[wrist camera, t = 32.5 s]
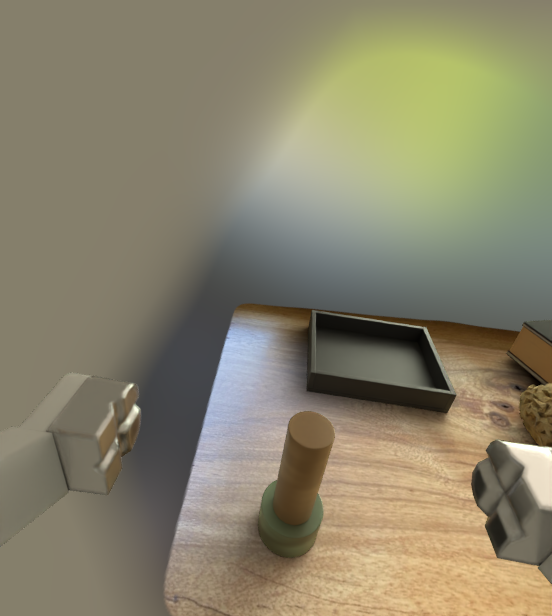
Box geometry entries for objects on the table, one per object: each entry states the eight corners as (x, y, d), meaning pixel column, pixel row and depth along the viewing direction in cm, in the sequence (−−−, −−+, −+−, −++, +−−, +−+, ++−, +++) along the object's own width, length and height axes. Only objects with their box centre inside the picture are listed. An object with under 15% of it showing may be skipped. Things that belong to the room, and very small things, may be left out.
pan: (306, 391, 46) (310, 372, 44) (308, 326, 58) (311, 309, 56) (447, 413, 45) (456, 395, 44) (419, 343, 57) (426, 327, 56)
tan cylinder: (254, 553, 29) (271, 455, 23) (261, 493, 34) (277, 397, 27) (317, 562, 29) (351, 466, 23) (316, 501, 34) (345, 406, 27)
